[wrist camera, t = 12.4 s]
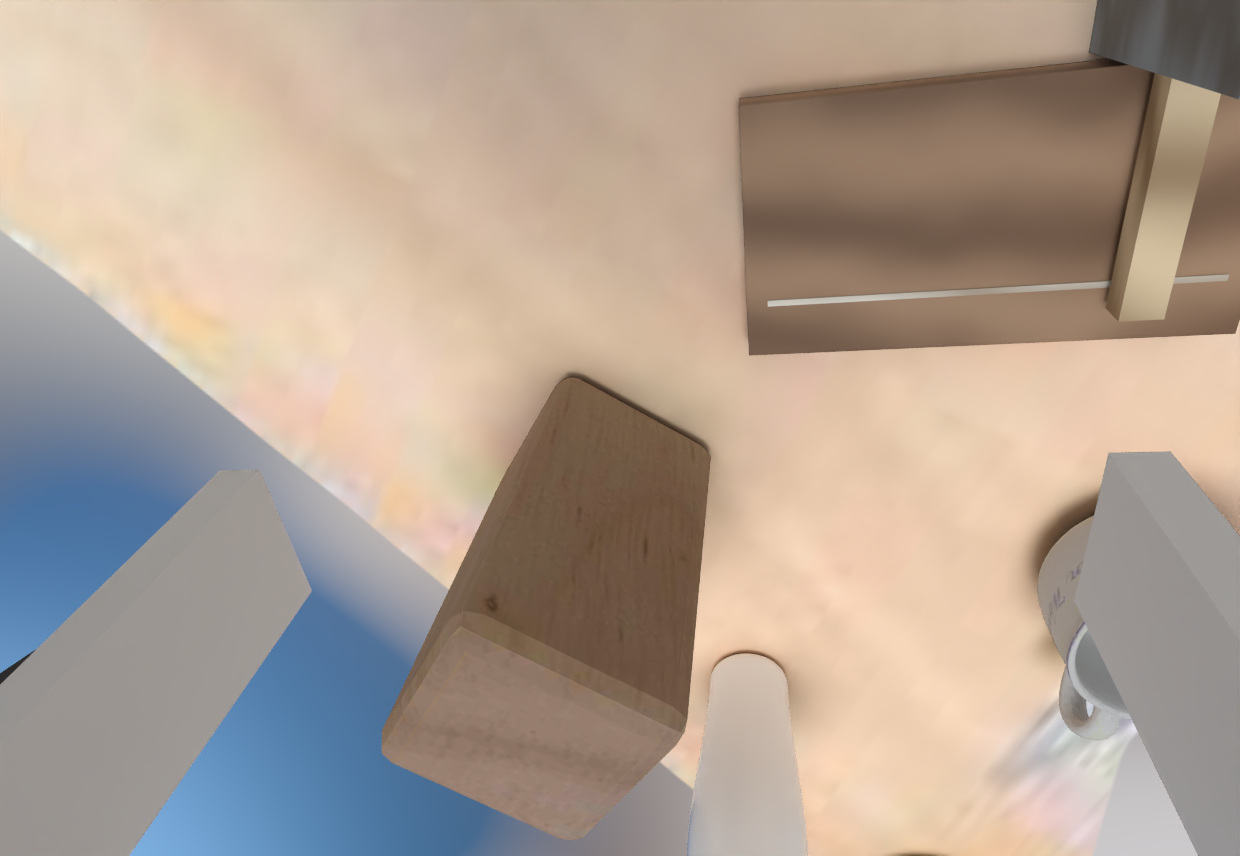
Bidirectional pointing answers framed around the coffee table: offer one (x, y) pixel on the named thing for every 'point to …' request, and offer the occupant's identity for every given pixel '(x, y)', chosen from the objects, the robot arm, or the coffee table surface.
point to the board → (968, 212)
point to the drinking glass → (747, 766)
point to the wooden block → (565, 622)
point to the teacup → (1077, 642)
